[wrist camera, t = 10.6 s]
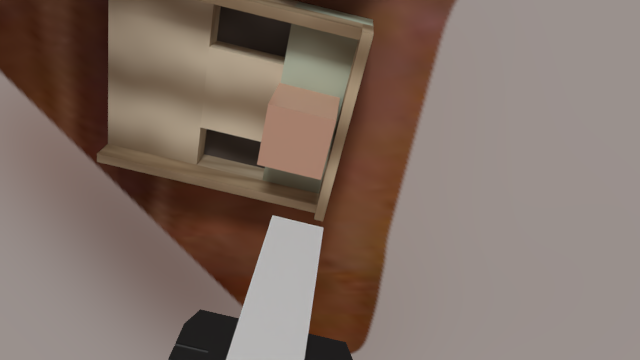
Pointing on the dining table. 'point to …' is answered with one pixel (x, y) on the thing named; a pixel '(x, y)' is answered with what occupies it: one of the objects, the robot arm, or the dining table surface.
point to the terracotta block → (298, 131)
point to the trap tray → (225, 89)
